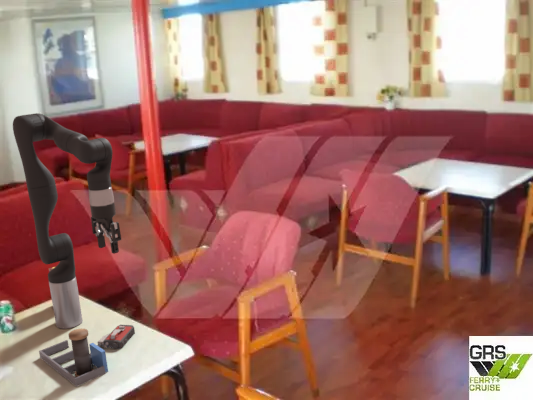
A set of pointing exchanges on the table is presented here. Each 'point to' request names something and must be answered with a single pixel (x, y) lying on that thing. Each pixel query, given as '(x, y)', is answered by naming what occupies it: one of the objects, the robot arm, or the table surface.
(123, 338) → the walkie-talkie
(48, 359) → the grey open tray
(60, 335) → the table surface
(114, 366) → the table surface
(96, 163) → the robot arm
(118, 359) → the table surface
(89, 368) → the cord spool
